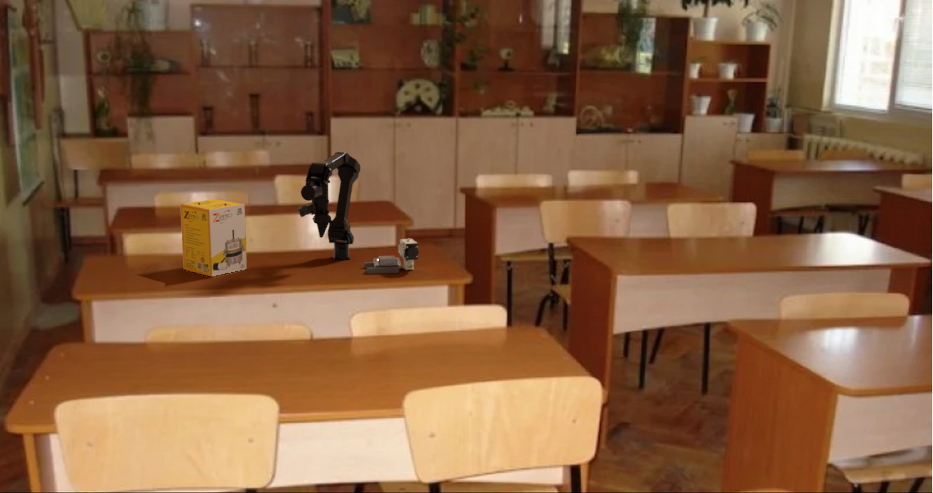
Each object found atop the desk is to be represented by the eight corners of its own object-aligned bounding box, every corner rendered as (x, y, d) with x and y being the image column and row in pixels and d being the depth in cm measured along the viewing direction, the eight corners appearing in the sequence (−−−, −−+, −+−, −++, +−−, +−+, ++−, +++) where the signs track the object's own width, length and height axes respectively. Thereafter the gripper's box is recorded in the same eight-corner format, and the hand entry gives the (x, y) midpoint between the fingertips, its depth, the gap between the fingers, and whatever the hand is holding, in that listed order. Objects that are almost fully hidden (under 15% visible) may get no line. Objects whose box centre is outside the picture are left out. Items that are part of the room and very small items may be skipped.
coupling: (373, 268, 341) (373, 256, 340) (399, 268, 344) (399, 255, 342) (375, 272, 337) (375, 259, 335) (401, 271, 339) (401, 258, 338)
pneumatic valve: (409, 264, 348) (410, 234, 345) (418, 272, 337) (419, 241, 335) (396, 265, 346) (396, 235, 344) (404, 273, 336) (405, 242, 333)
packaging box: (218, 262, 345) (216, 198, 339) (246, 269, 336) (244, 203, 330) (183, 270, 332) (180, 204, 327) (211, 278, 323) (208, 209, 317)
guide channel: (364, 267, 343) (364, 262, 342) (395, 266, 345) (395, 261, 345) (367, 273, 334) (367, 268, 333) (399, 272, 336) (399, 267, 336)
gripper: (297, 192, 341) (298, 232, 344) (300, 201, 323) (300, 243, 327) (326, 192, 343) (327, 231, 347) (331, 200, 326) (331, 242, 329)
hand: (321, 237), depth 337 cm, fingers closed
